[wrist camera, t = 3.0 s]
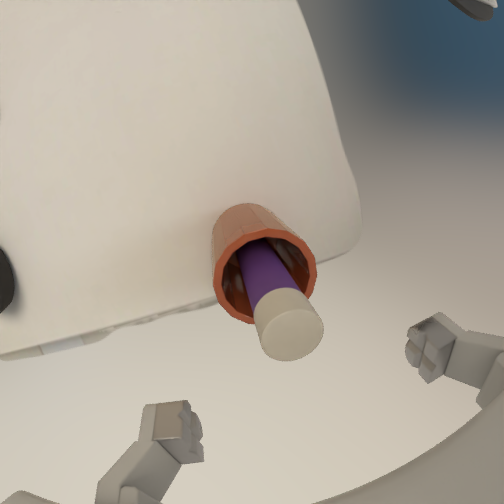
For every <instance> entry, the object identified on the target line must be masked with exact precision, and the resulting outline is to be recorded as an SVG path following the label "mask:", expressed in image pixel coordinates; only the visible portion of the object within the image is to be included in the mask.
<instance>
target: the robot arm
mask: <svg viewBox="0 0 504 504" xmlns="http://www.w3.org/2000/svg"><path fill="white" fill-rule="evenodd" d="M477 1H480V2H482V3H485V4H487V5H490V6H492V7H495V8H496V7H497V2H496V0H477ZM407 337H408V338H409V341H408V342H407V344H406V347H405V353H406V357H407V360H408V361H409V363H410V364H411V365H412V366H413V367H416V368H419V375H420V376H421V377H422V378H423V379H424V380H425V381H426V382H427V384H429V383H430V382H432V381H434V380H435V379H437V378H438V377H440V376H442V375H443V374H444V375H445V376H447V377H450V378H452V379H455V380H457V381H460V382H463V383H465V384H468V385H470V386H473V387H476V388H479V389H481V390H480V392H479V394H478V396H477V398H476V402H477V403H478V404H479V406H480V407H481V408H482V410H481V411H480V412H479V413H478V414H477V415H475V416H474V417H473V418H472V419H471V420H469V421H468V422H467V423H466V424H465V425H463V426H462V427H461V428H460V429H458V430H457V431H456V432H454V433H453V434H452V435H450V436H449V437H447V438H446V439H445V440H443V441H442V442H440V443H439V444H437V445H436V446H435V447H433V448H431V449H430V450H428V451H427V452H425V453H423V454H422V455H420V456H419V457H417V458H415V459H414V460H412V461H410V462H408V463H407V464H405V465H403V466H401V467H400V468H398V469H396V470H394V471H392V472H390V473H388V474H386V475H384V476H382V477H380V478H378V479H376V480H374V481H372V482H369V483H367V484H365V485H363V486H360V487H358V488H355V489H353V490H350V491H348V492H345V493H343V494H340V495H337V496H334V497H332V498H329V499H326V500H323V501H319V502H316V503H313V504H504V337H501V336H496V335H490V334H485V333H480V332H474V331H467V332H466V331H465V330H463V329H462V328H461V327H459V326H458V325H457V324H456V323H455V322H453V321H452V320H451V319H449V318H448V317H447V316H446V315H444V314H443V313H441V312H438V313H436V314H434V315H433V316H431V317H430V318H427V319H425V320H423V321H421V322H420V323H418V324H416V325H414V326H412V327H410V329H409V330H408V334H407ZM202 437H203V433H202V427H201V422H200V420H199V418H198V416H197V414H196V413H194V412H192V411H191V406H190V404H189V402H188V401H187V400H182V401H175V402H166V403H158V404H148V405H145V407H144V408H143V413H142V419H141V426H140V432H139V439H138V441H136V442H134V443H133V444H132V445H131V446H130V447H129V449H128V450H127V451H126V452H125V453H124V454H123V455H122V456H121V458H120V459H119V460H118V461H117V462H116V463H115V464H114V465H113V466H112V468H111V469H110V470H109V471H108V472H107V473H106V474H105V475H104V476H103V477H102V478H101V480H100V481H99V482H98V486H97V492H96V499H95V504H162V503H161V502H160V501H161V500H162V498H163V496H164V495H165V493H166V491H167V490H168V488H169V486H170V485H171V483H172V481H173V480H174V478H175V476H176V474H177V473H178V471H179V469H180V467H181V464H190V463H198V462H204V453H203V446H202V444H201V443H200V442H199V441H200V439H201V438H202ZM1 504H59V503H56V502H53V501H50V500H47V499H44V498H41V497H39V496H36V495H33V494H31V493H29V492H26V491H17V492H15V493H14V494H12V495H11V496H10V497H8V498H7V499H6V500H5V501H3V502H2V503H1Z"/></svg>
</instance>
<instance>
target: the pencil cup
mask: <svg viewBox="0 0 504 504" xmlns="http://www.w3.org/2000/svg"><path fill="white" fill-rule="evenodd" d="M263 237H264V238H265V239H266V240H267V242H268V243H269V245H270V246H271V248H272V249H273V251H274V252H275V254H276V255H277V257H278V258H279V259H280V261H281V262H282V264H283V265H284V267H285V268H286V270H287V271H288V273H289V274H290V276H291V277H292V279H293V280H294V282H295V283H296V285H297V286H298V288H299V289H300V291H301V292H302V293H303V294H304V295H305V296H306V298H307V299H309V297H310V296H311V294H312V293H313V289H314V285H315V282H316V278H317V270H316V263H315V257H314V255H313V254H312V252H311V250H310V249H309V247H308V246H307V244H306V243H305V242H304V241H303V240H302V239H301V238H300V237H299V236H298V235H297V234H296V233H295V232H293V231H292V230H291V229H290V228H289V227H288V226H287V225H286V224H284V223H283V222H282V221H281V220H280V219H279V218H278V217H276V216H275V215H274V214H273V213H272V212H270V211H269V210H267V209H266V208H264V207H262V206H259V205H256V204H249V203H247V204H239V205H236V206H233V207H231V208H229V209H228V210H226V211H225V212H224V213H223V214H222V215H221V216H220V217H219V218H218V220H217V222H216V223H215V226H214V228H213V233H212V276H213V287H214V291H215V294H216V297H217V300H218V302H219V304H220V305H221V306H222V307H223V308H224V309H225V310H226V311H227V312H228V313H229V314H230V315H231V316H232V317H234V318H236V319H238V320H241V321H243V322H245V323H248V324H255V322H254V315H253V311H252V308H251V304H250V301H249V297H248V294H247V290H246V287H245V283H244V280H243V276H242V273H241V269H240V266H239V262H238V258H237V255H236V250H237V249H239V248H240V247H241V246H243V245H244V244H245V243H247V242H248V241H252V240H256V239H260V238H263Z"/></svg>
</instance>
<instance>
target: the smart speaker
mask: <svg viewBox="0 0 504 504" xmlns="http://www.w3.org/2000/svg"><path fill="white" fill-rule="evenodd" d="M13 294H14V281H13V276H12V272H11V269H10V266H9V263H8V261H7V259H6V257H5V255H4V254H3V252H2V251H1V250H0V313H1V312H2V311H3V310H4V309H5V308H6V307H7V306H8V305H9V304H10V303H11V301H12V298H13Z"/></svg>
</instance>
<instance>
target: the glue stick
mask: <svg viewBox="0 0 504 504" xmlns="http://www.w3.org/2000/svg"><path fill="white" fill-rule="evenodd" d="M236 255H237V258H238V262H239V266H240V269H241V273H242V276H243V280H244V283H245V287H246V290H247V294H248V297H249V301H250V304H251V308H252V311H253V315H254V322H255V325H256V329H257V332H258V336H259V339H260V343H261V346H262V349H263V350H264V352H265V353H266V354H267V355H268V356H269V357H271V358H273V359H276V360H279V361H293V360H297V359H300V358H302V357H304V356H306V355H308V354H309V353H311V352H312V351H313V350H314V349H315V348H316V347H317V346H318V344H319V343H320V341H321V339H322V336H323V331H324V328H323V323H322V320H321V319H320V317H319V315H318V314H317V313H316V311H315V310H314V308H313V307H312V305H311V304H310V302H309V301H308V299H307V298H306V296H305V295H304V294H303V293H302V292H301V291H300V289H299V288H298V286H297V285H296V283H295V282H294V280H293V279H292V277H291V276H290V274H289V273H288V271H287V270H286V268H285V267H284V265H283V264H282V262H281V261H280V259H279V258H278V257H277V255H276V254H275V252H274V251H273V249H272V248H271V246H270V245H269V243H268V242H267V240H266V239H265V238H264V237H263V238H260V239H256V240H252V241H248V242H247V243H245V244H244V245H243V246H241V247H240V248H239V249H237V250H236Z"/></svg>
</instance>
